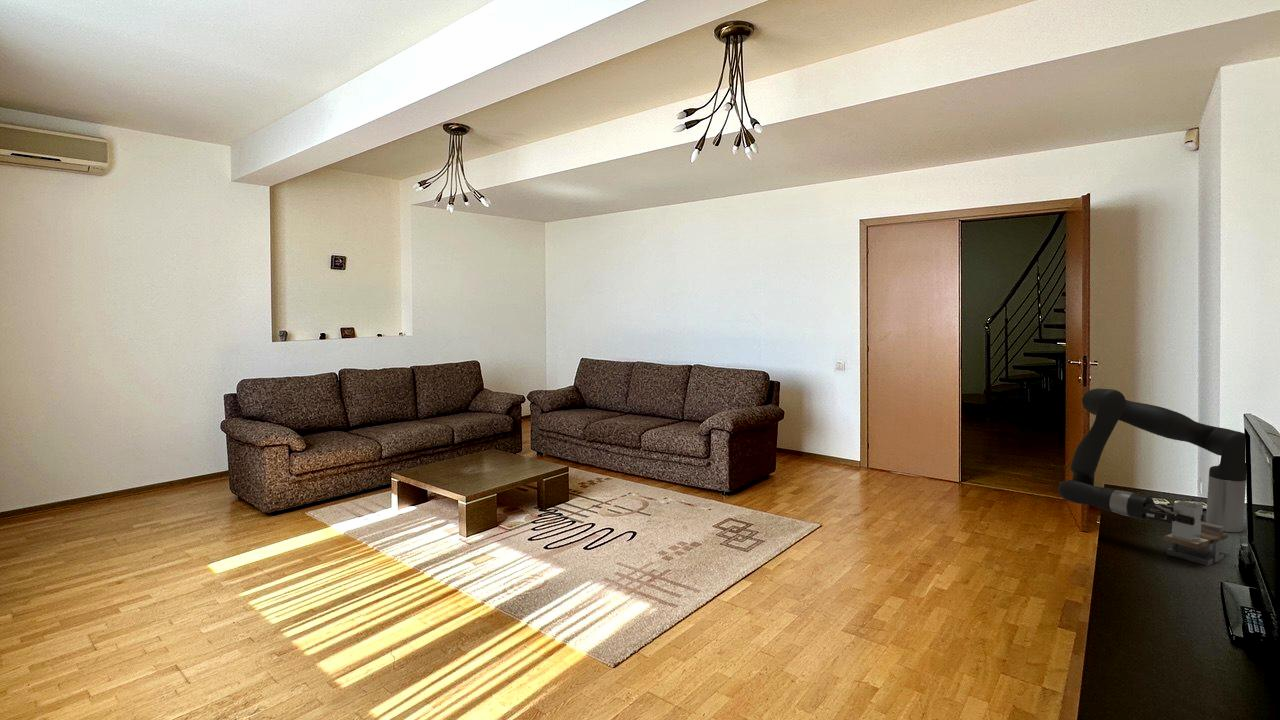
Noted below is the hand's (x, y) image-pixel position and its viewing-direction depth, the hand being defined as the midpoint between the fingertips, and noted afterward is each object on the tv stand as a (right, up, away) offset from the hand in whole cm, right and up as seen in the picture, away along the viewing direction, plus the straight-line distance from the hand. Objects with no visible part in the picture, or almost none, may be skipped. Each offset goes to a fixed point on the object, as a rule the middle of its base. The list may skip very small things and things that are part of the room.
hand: (1198, 520), depth 186 cm
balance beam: (+4, -7, +6) cm, 10 cm away
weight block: (-1, -6, +3) cm, 7 cm away
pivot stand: (+4, -13, +6) cm, 15 cm away
